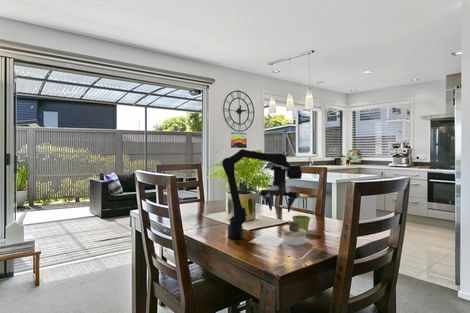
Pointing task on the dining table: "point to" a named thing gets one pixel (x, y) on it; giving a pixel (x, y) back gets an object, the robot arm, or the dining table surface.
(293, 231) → the lid
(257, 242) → the mat
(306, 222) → the plant pot
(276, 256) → the dining table surface
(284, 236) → the bowl
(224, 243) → the dining table surface
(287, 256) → the dining table surface
